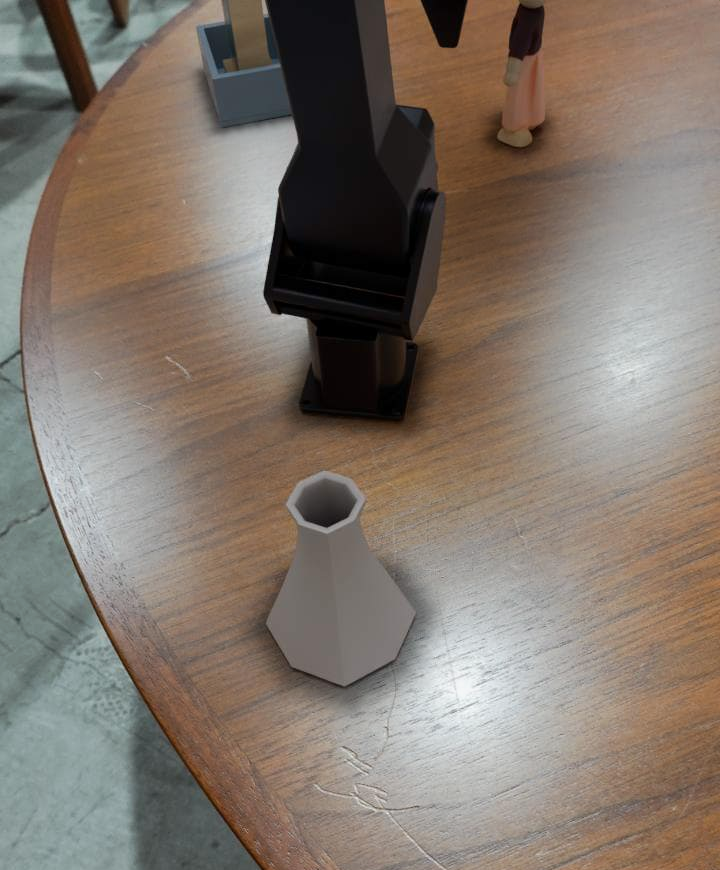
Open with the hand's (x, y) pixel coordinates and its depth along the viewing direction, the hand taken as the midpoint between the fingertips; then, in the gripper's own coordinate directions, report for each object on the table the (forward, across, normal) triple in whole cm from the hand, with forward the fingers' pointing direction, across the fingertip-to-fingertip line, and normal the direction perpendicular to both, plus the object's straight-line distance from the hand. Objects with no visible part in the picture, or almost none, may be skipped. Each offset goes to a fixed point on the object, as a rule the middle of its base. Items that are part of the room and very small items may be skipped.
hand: (457, 11), depth 56 cm
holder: (+12, +13, +18) cm, 26 cm away
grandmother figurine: (+13, +9, -4) cm, 16 cm away
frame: (+12, +13, +18) cm, 25 cm away
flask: (+14, -37, +1) cm, 39 cm away
